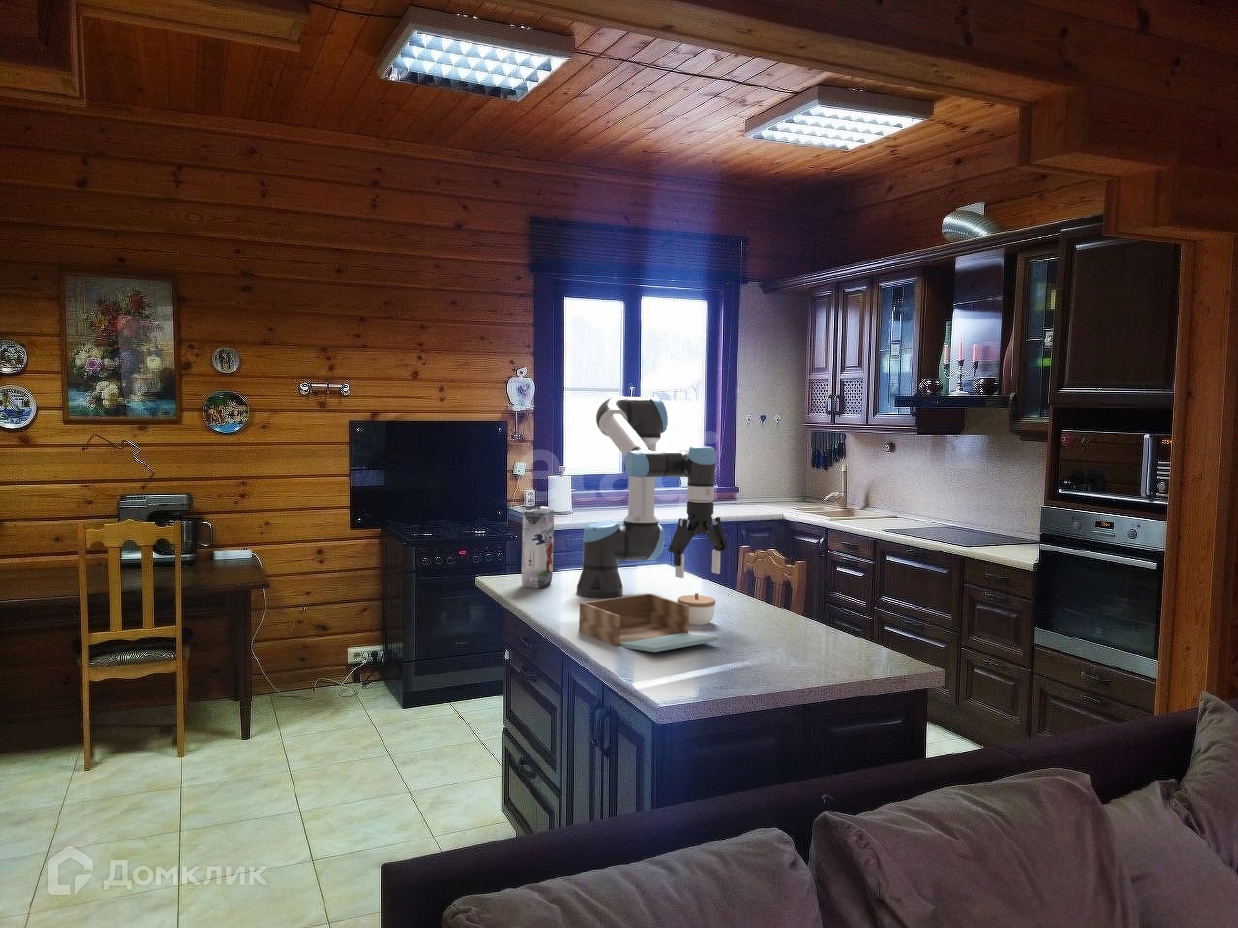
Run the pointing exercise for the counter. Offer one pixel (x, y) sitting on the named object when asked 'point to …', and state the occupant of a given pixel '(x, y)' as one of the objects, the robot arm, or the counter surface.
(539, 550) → the juice carton
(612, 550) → the robot arm
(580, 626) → the open wooden tray
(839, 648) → the counter surface
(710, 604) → the lidded jar
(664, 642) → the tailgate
